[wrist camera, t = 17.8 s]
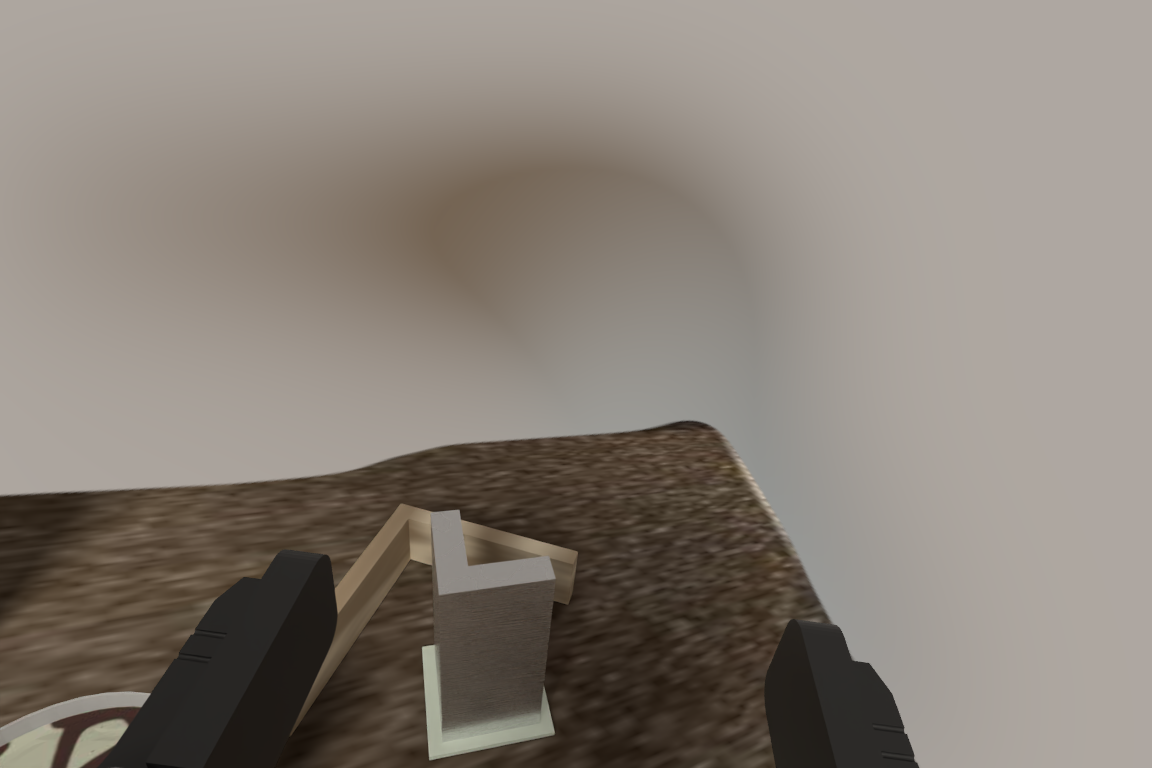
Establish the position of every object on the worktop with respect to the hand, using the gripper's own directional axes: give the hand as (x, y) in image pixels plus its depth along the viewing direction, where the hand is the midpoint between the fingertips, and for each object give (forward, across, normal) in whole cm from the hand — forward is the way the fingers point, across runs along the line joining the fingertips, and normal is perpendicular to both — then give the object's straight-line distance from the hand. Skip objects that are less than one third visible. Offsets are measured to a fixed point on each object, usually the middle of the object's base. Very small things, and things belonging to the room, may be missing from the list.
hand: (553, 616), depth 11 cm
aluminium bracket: (+15, +4, +27) cm, 31 cm away
